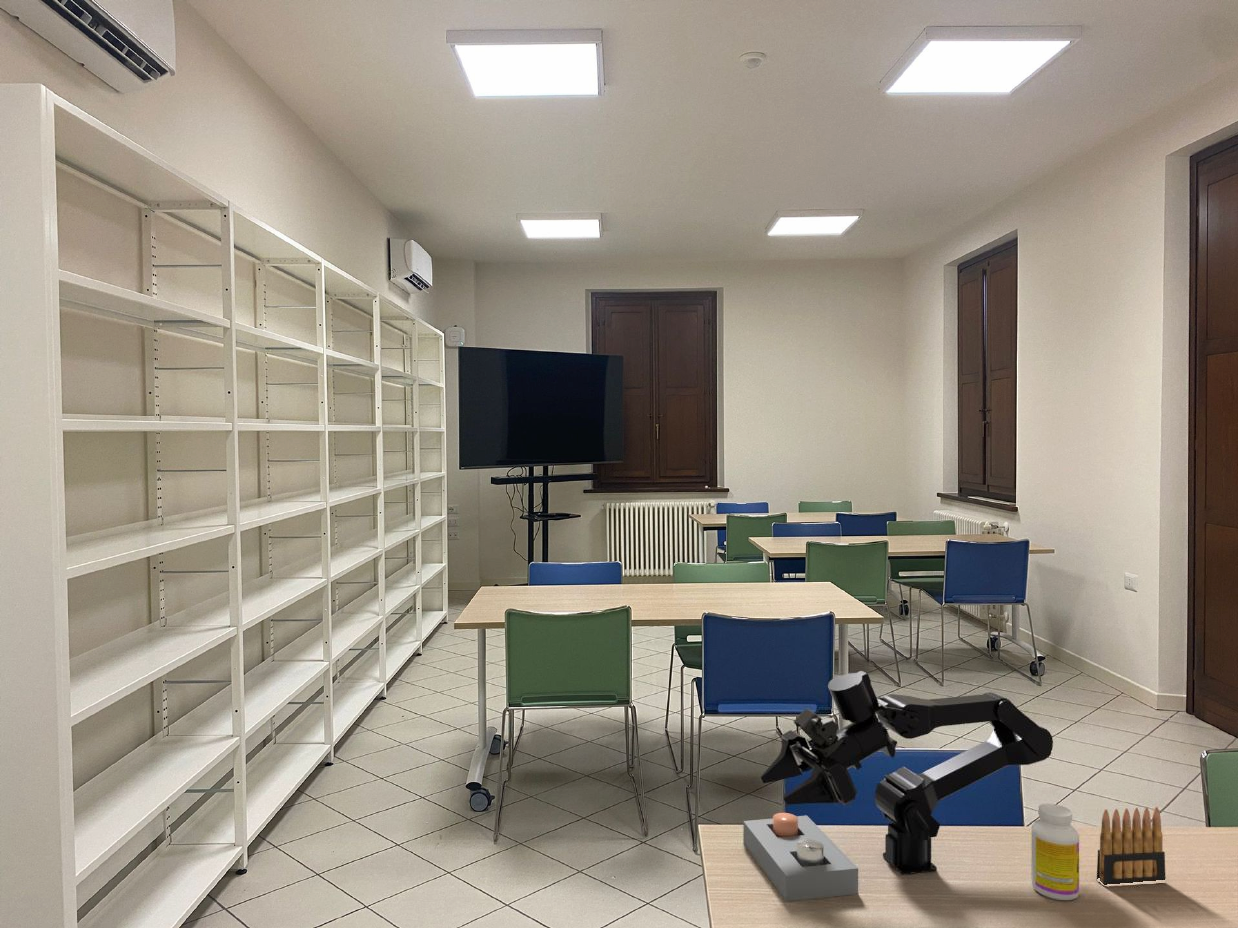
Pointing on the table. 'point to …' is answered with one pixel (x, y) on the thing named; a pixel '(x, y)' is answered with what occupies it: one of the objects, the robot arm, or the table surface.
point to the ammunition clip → (1131, 848)
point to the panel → (788, 873)
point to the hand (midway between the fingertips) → (772, 790)
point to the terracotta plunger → (785, 825)
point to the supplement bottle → (1055, 853)
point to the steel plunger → (810, 853)
